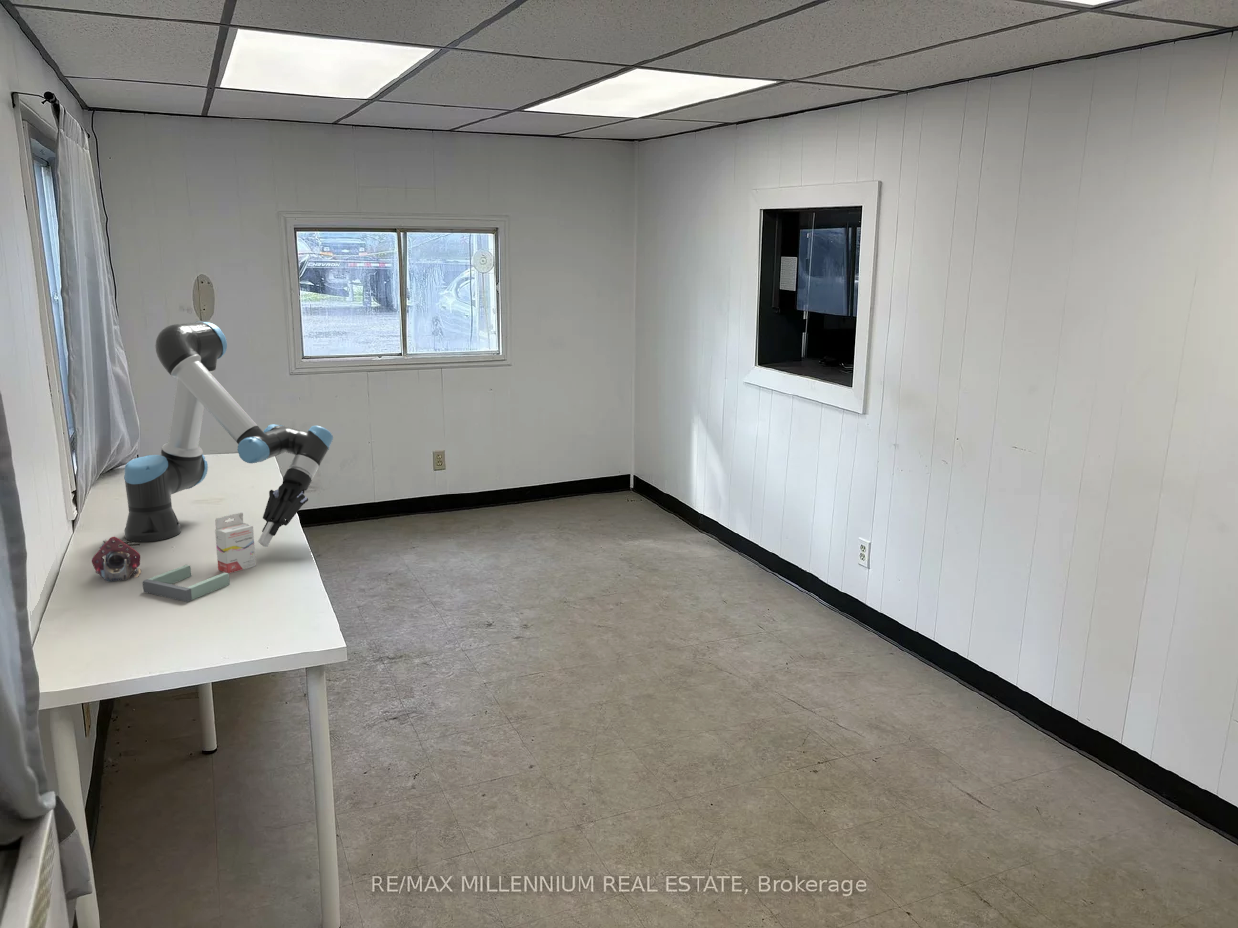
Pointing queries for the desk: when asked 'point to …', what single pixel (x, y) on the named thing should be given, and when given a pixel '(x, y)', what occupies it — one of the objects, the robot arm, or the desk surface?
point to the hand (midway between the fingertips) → (262, 544)
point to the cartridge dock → (164, 586)
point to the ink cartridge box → (234, 544)
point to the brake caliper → (116, 561)
